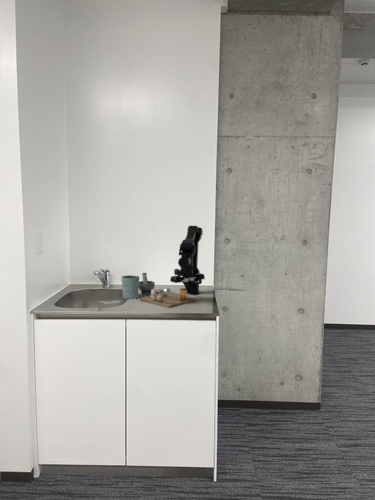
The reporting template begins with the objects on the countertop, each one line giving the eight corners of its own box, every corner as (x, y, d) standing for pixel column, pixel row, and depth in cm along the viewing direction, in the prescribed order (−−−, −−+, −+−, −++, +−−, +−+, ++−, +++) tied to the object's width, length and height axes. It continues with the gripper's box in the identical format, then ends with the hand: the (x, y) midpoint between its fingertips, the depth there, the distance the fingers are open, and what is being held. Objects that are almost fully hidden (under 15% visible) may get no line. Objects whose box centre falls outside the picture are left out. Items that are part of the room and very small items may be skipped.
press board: (168, 294, 247) (168, 282, 246) (197, 300, 232) (197, 287, 232) (139, 300, 229) (139, 287, 229) (168, 307, 215) (168, 294, 214)
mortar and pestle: (156, 295, 244) (156, 274, 243) (140, 296, 241) (140, 275, 240) (151, 291, 255) (151, 271, 253) (136, 292, 252) (136, 272, 250)
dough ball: (159, 300, 227) (159, 293, 226) (164, 301, 224) (164, 294, 224) (155, 301, 224) (155, 294, 223) (159, 302, 222) (160, 295, 221)
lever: (158, 294, 239) (158, 284, 238) (163, 293, 242) (163, 283, 241) (182, 300, 225) (182, 289, 224) (187, 299, 228) (187, 288, 227)
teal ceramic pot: (124, 300, 231) (124, 278, 229) (119, 296, 240) (119, 275, 238) (141, 298, 235) (141, 277, 234) (136, 294, 244) (136, 274, 243)
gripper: (194, 261, 238) (194, 288, 240) (165, 265, 229) (166, 293, 231) (204, 264, 229) (205, 292, 231) (175, 267, 219) (175, 296, 221)
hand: (188, 293), depth 229 cm, fingers closed
